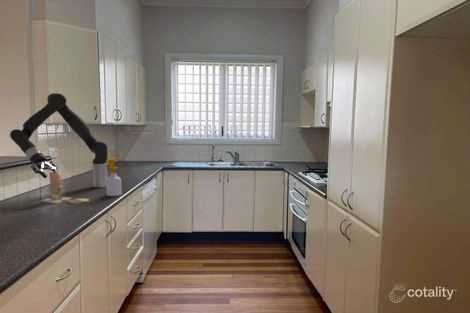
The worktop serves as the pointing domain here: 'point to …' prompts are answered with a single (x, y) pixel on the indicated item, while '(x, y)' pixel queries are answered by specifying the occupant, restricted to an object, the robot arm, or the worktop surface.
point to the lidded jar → (55, 180)
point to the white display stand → (56, 197)
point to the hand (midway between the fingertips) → (52, 176)
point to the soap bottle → (113, 180)
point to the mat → (78, 201)
